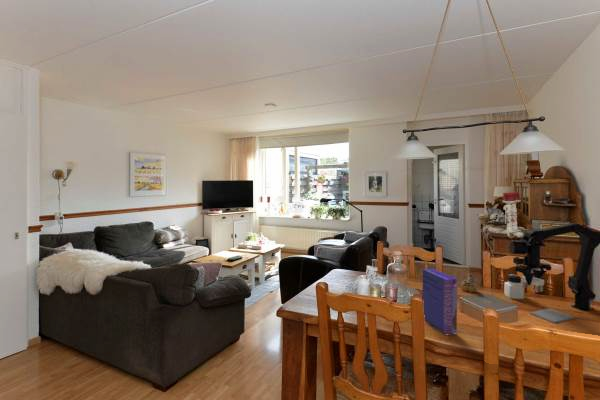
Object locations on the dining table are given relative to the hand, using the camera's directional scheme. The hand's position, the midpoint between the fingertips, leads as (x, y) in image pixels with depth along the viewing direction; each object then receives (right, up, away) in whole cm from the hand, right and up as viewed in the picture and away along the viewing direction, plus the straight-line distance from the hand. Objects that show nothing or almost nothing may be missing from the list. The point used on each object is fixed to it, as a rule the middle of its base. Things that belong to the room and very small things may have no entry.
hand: (532, 284), depth 162 cm
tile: (0, -12, -12) cm, 17 cm away
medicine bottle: (-1, -11, +13) cm, 17 cm away
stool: (0, -3, 0) cm, 3 cm away
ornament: (-20, -10, +23) cm, 32 cm away
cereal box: (-57, -14, -20) cm, 62 cm away
